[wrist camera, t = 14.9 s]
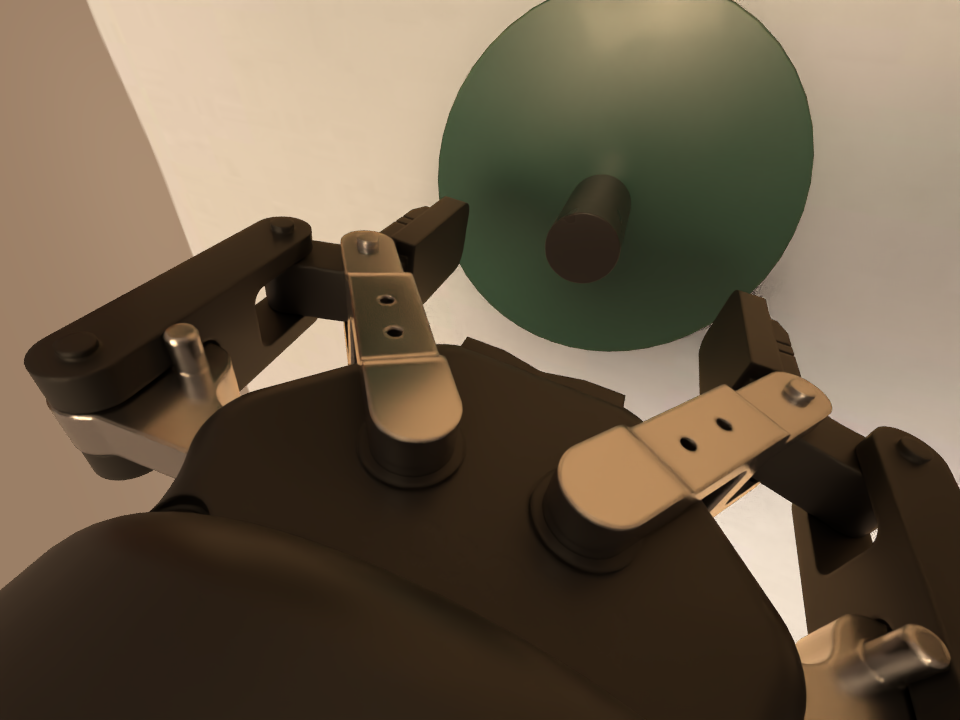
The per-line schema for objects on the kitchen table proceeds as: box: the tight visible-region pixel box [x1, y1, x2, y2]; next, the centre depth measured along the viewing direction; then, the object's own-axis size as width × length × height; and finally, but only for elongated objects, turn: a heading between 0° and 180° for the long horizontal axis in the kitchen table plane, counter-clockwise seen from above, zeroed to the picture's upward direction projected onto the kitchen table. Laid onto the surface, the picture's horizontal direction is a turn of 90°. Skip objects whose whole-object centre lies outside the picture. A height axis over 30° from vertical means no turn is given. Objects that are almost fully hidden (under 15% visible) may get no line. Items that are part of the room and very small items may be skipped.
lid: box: [438, 0, 814, 352], centre depth 18 cm, size 15×15×6 cm
